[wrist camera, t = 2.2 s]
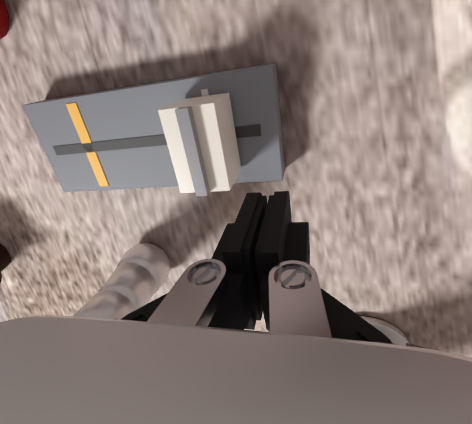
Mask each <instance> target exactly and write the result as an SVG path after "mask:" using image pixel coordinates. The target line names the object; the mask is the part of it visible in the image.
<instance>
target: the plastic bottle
mask: <svg viewBox="0 0 472 424" xmlns="http://www.w3.org/2000/svg"><path fill="white" fill-rule="evenodd" d="M169 271H170V263H169V259H168V257H167V255H166V254H165V252H164V251H163V250H162V249H160V248H159V247H157V246H156V245H153V244H149V243H142V244H137V245H135V246H133V247H132V248H131V249H129V250H128V251H127V252H126V253H125V254H124V256H123V257H122V259H121V260H120V262H119V264H118V266H117V268H116V270H115V271H114V272H113V274H112V275H111V277H110V278H109V280H108V281H107V282H106V284H105V285H104V286H103V287H102V288H101V289H100V290H99V292H98V293H97V294H96V295H95V296H94V297H93V298H92V299H91V300H90V301H89V302H88V303H87V304H86V305H85V306H84V307H82V308H81V309H80V310H79V311H78V312H77V313H76V314H74V315H73V316H76V317H92V318H105V319H114V318H118V320H121V319H122V318H123V317H124V316H126V315H127V314H129V313H131V312H133V311H135V310H137V309H138V308H140V307H142V306H144V305H146V304H147V302H148V301H149V300H150V298H151V297H152V296H153V294H154V293H156V292H157V291H158V290H159V289H160V287H161V286H162V285H163V284H164V283H165V281H166V279H167V277H168V274H169Z"/></svg>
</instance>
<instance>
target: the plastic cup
mask: <svg viewBox="0 0 472 424" xmlns="http://www.w3.org/2000/svg"><path fill="white" fill-rule="evenodd" d="M8 27H9V20H8V12H7V9H6V6H5V3H4V0H0V39H2V38H3V37H4V36H5V35H6V33H7V30H8Z"/></svg>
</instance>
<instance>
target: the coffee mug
mask: <svg viewBox="0 0 472 424" xmlns="http://www.w3.org/2000/svg"><path fill="white" fill-rule="evenodd" d="M10 262H11V258H10V255H9V253H8V251H7V250H6V248H5V247H4V246H3V245H2V244H1V243H0V283H1V279H2V275H1V271H2V270H3V269H4V268H6V267H7V266H8V265H9V264H10Z"/></svg>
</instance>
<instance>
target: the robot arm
mask: <svg viewBox="0 0 472 424" xmlns="http://www.w3.org/2000/svg"><path fill="white" fill-rule="evenodd" d="M262 313H264V319H265V322H266V329H267V330H268V331H269V332H261V331H250V330H244V329H253V330H254V328H255V323H256V320H261V318H262ZM0 424H472V358H470V357H466V356H463V355H459V354H453V353H448V352H443V351H438V350H433V349H428V348H425V347H421V346H417V345H413V344H409V341H408V339H407V337H406V336H405V335H404V334H403V333H402V332H401V331H400V330H399V329H398V328H396V327H395V326H393V325H392V324H389V323H387V322H385V321H383V320H379V319H375V318H371V317H364V316H359V315H357V314H356V313H355V312H353V311H352V310H350V309H349V308H348V307H346V306H345V305H343V304H342V303H341V302H339V301H338V300H337V299H335V298H334V297H332V296H331V295H330V294H328V293H327V292H325V291H324V290H323V289H321V288H320V285H319V281H318V276H317V273H316V271H315V269H314V268H313V267H312V266H311V265H310V244H309V224H308V222H292V221H291V208H290V196H289V191H281V192H275V193H274V195H270V196H269V200H268V204H267V197H266V196H262V194H261V192H258V193H247V194H246V197H245V199H244V202H243V204H242V206H241V209H240V211H239V214H238V216H237V218H236V221H235V223H229V224H227V226H226V228H225V230H224V232H223V235H222V237H221V239H220V241H219V243H218V246H217V248H216V250H215V252H214V254H213V257H212V259H204V260H200V261H197V262H195V263H193V264H192V265H190V266H189V267H188V268H187V269H186V270H185V271H184V273H183V274H182V275H181V277H180V278H179V279H178V281H177V282H176V283H175V285H174V286H173V287H172V289H171V290H170V291H169V293H167V294H165V295H163V296H161V297H160V298H158V299H156V300H154V301H152V302H150V303H148V304H146V305H144V306H142V307H140V308H138V309H137V310H135V311H133V312H131V313H129V314H127V315H126V316H124V317H123V318H122V319H121V320H118V318H114V319H105V318H92V317H76V316H49V315H46V316H30V317H23V318H16V319H12V320H8V321H4V322H0Z"/></svg>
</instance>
